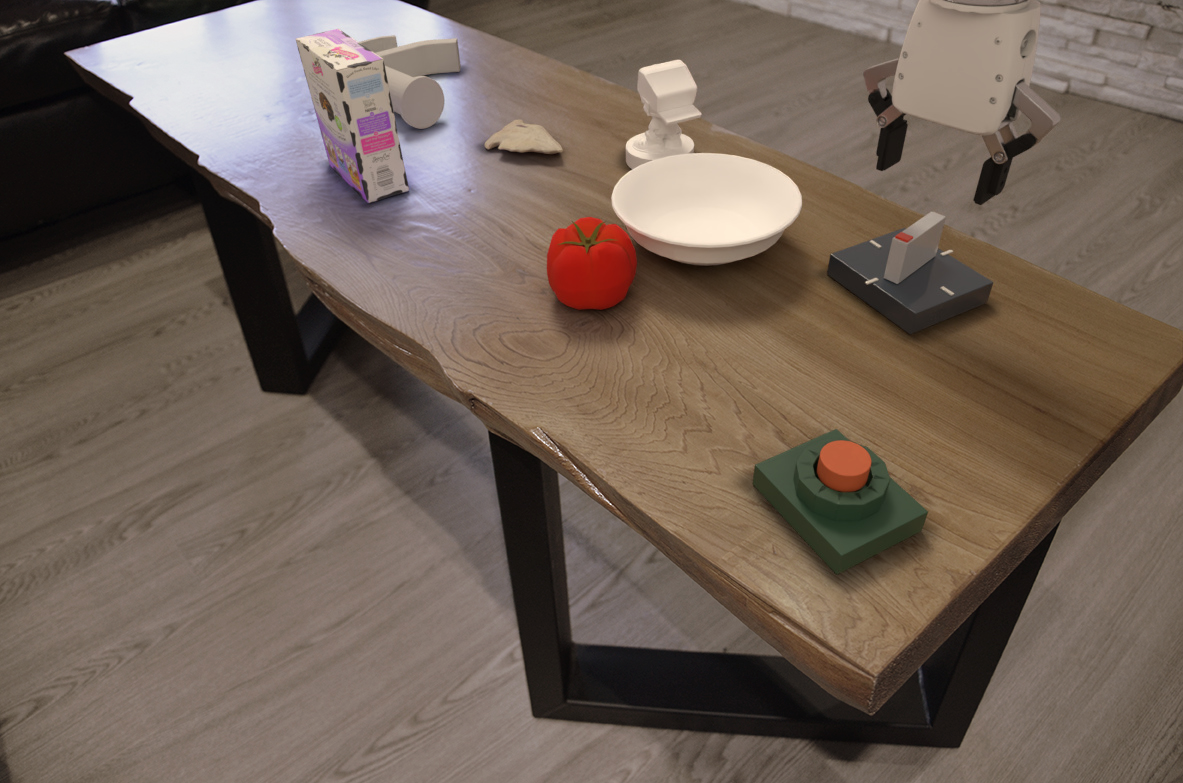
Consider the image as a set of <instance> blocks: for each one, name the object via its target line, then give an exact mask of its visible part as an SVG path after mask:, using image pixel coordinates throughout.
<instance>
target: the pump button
mask: <svg viewBox="0 0 1183 783" xmlns="http://www.w3.org/2000/svg"><path fill="white" fill-rule="evenodd" d="M850 441H851V440H850ZM850 441H843V440H840V441H833V442H830V443H828V444H826V445H825V446H824V447H823V448H822V450H821V452H820V456H819V461H818V466H817V474H818V477H819V479H820V480H821V482H822V483H823V484H824V485H826V486H827V487H829V488H831V489H833V490H836V491H840V492H853V491H857V490H859V489H861V488H862V487H863V486H864V485H865V484H866V482H867V479H868V475H869V471H870V467H871V457H870V455H869V453H868V452H867V451H866V450H865V449H864V448H863V447H862V446H863V445H862V446H860V445H861V444H860V445H858V444H859V443H857V442H854V441H851V442H850ZM853 442H854V443H853ZM856 443H857V444H856Z"/></svg>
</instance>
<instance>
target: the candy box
mask: <svg viewBox="0 0 1183 783" xmlns="http://www.w3.org/2000/svg"><path fill="white" fill-rule="evenodd" d="M295 42H296V45H297V47H296V48H297V50H298V54H299V58H300V62H301V65H302V69H303V72H304V76H305V80H306V83H307V87H308V90H309V94H310V97H311V101H312V105H313V109H314V112H315V116H316V120H317V124H318V127H319V130H320V135H321V139H322V142H323V146H324V149H325V153H326V157H327V160H328V164H329V166H330V167H331V168H332V169H333V170H334V171H335V172H336V173H337V174H338V175H339V176H340V177H341V178H342V179H343V180H344V181H345V182H346V183H347V184H348V185H349V186H350V187H351V188H352V189H353V190H354V191H355V192H356V193H358V195H359V196H360V197H361V198H362V199H363V200H364V201H365V202H366V203H367V204H370V203H374V202H378V201H380V200H383V199H387V198H390V197H393V196H396V195H400V194H403V193H407V192H408V191H410V187H409V182H408V177H407V173H406V166H405V164H404V163H405V162H404V158H403V153H402V148H401V143H400V137H399V133H398V128H397V121H396V117H395V112H394V111H393V105H392V101H391V96H390V91H389V85H388V80H387V75H386V70H385V65H384V59H383V58H381V57H380V56H378V55H377V54H375V53H374V52H372V51H371V50H369V49H368V48H366V47H365V46H363V45H362V44H360V43H359V42H360V41H357V40H356V39H354V38H353V37H352V36H350V35H348V33H346V32H344V30H342V29H340V28H335V29H330V30H326V31H321V32H317V33H313V34H310V35H305V36H301V37H297V38H295Z"/></svg>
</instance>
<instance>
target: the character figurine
mask: <svg viewBox="0 0 1183 783" xmlns="http://www.w3.org/2000/svg"><path fill="white" fill-rule="evenodd" d="M636 86H637V88H636V89H637V93H638V94H639V97H640V101H641V104H643V106H642V107H643V108H642V109H643V112H644V113H645V114H646V115H647V117H651V119H650V122H649V124H648V126H647V128H648V129H647V130H646V131H644V132H641V133H639V134H636V135H634V136H632V137H630V138H629V139H628V140H627V141H626V144H625V164H626V165H627V166H628V168H629V169H631V170H633V169H634V168H636V167H638V166H640V165H642V164H645V163H647V162H650V161H653V160H656V159H660V158H664V157H668V156H674V155H681V154H692V153H695V143H694V140H693V139H692V138H691V137H690V136H689V135H687V134H684V133H682V132H683V131H682V128H681V127H680V125H679V124H680V123H685V122H688V121H693V120H696V119H700V118H702V115H703V114H702V112H701V111H700V110H699V109H698V108H697V107H696V106H695V105H694V103H695V101H696V96H697V92H698V85H697V83H696V82H695V79H694V78H693V75H692V73H691V72H690V70H689V68H688V66H687V64H686V63H684V62H683V60H681V59H674V60H669V61H666V62H662V63H661V62H660V63H654V64H652V65H648V66H642V67H641V68H639V70H638V74H637V84H636Z"/></svg>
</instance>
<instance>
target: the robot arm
mask: <svg viewBox="0 0 1183 783" xmlns="http://www.w3.org/2000/svg"><path fill="white" fill-rule="evenodd" d="M1041 5H1042V4H1041V1H1039V0H918V2H917V5H916V6H915V9H914V11H913V13H912V17H911V19H910V21H909V25H908V28H907V30H906V33H905V37H904V41H903V44H902V47H901V50H900V54H899V57H896V58H894V59H891V60H887V61H884V62H881V63H877V64H874V65H872V66H870V67H868V68H866V69H864V71H863V73H862V76H863V80H864V84H865V87H866V91H867V93H868V97H867V101H868V104H869V105H870V107H871V109H872V111H873V113H874V115H875V116H876V119H875V124H876V125H877V127H878V128H880V129H879V135H878V139H877V140H878V141H877V147H876V151H875V154H876V155H875V156H877V160H876V166H875V168H876V170H877V171H880V172H884V171H886V170H888V169H890V168H891V167H893V166H895V165H896V164H898V163H900V162H901V159H902V156H903V151H904V146H905V140H906V136H907V131H908V126H909V123H908V120H907V119H904V118H905V116H911V117H913V118H917V119H920V120H923V121H926V122H930V123H933V124H937V125H940V126H943V127H947V128H951V129H954V130H957V131H960V132H965V133H967V134H972V135H975V136H981V137H982V140H983V141H984V144H985V146H986V149H987V150H988V152H989V155H990V157H989V158H987V159H986V160H985V161H983V164H982V167H981V170H980V174H979V177H978V180H977V185H976V188H975V192H974V195H973V202H974V204H975V205H979V206H982V205H984V204H985V203H987V202H988V201H989V200H991V199H992V198H993V197H995V196H998V195H1000V194H1001V193H1002V192H1003V190H1004V188H1005V186H1006V183H1007V179H1008V176H1009V172H1010V169H1011V166H1012V163H1013V159H1014V158H1015V157H1017V156H1019V155H1021V154H1022V153H1024V152H1027V151H1029V150H1030V149H1032V148H1033V147H1034V146H1036V145H1038V144H1039V143H1040V142H1042V140H1043V139H1044V138H1045V137H1046V136H1047V135H1048V134H1049V133H1050V132H1051V131H1052V130H1053V129H1054V128H1055V127H1056V126H1057V125H1058V124H1059V123H1060V121H1061V115H1060V113H1058V111H1056V110H1055V109H1054V108H1053V107H1052V106H1051V105H1050V104H1049V103H1048V102H1047V101H1045V100H1044V99H1043V98H1042V97H1041V96H1040V95H1039V94H1038V93H1037V92H1036V91H1034V90H1033V89H1032V88H1031V86H1030V84H1031V82H1032V81H1031V80H1032V75H1033V71H1034V65H1035V62H1036V61H1035V60H1036V56H1037V48H1038V42H1039V33H1040V26H1041V25H1040V24H1041V7H1042V6H1041ZM891 77H894V80H893V85H892V90H891V92H890V90H889V89H888V88H887V87H886V86H887V83H886V79H887V78H891ZM1022 114H1023V115H1024V116H1025V117H1027V118H1028V119H1029V121H1030V123H1031V125H1030V127H1029V128H1028V129H1027V131H1026V132H1024V133H1023V134H1021V135H1020V136H1019V135H1018V133H1017V131H1016V129H1015V126H1014V124H1013V122H1015V121H1017V120H1018V119H1020V117H1021V116H1022Z"/></svg>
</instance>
